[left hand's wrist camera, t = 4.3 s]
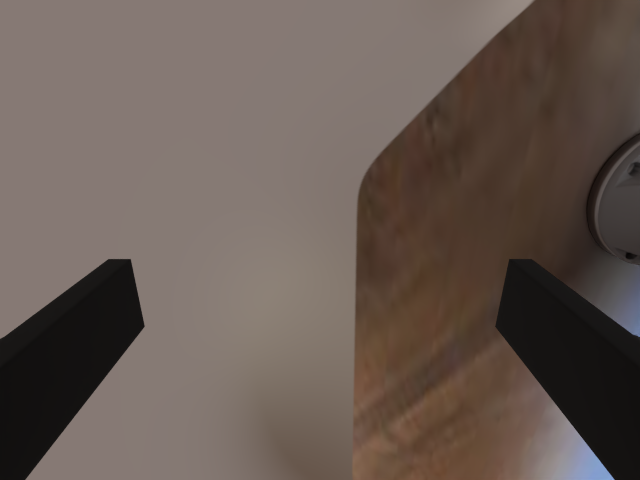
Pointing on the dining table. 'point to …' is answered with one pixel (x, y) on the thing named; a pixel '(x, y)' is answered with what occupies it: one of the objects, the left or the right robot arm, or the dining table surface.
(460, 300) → the dining table surface
